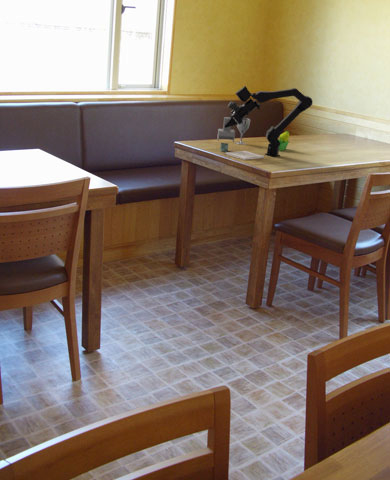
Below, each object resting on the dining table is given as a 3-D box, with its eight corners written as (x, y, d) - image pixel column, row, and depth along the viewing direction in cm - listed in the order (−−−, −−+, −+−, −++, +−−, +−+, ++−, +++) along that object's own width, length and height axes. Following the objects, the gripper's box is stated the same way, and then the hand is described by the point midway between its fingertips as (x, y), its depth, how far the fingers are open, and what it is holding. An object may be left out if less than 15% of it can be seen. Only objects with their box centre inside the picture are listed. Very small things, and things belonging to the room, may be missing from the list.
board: (245, 152, 344) (245, 150, 344) (263, 157, 335) (264, 156, 335) (225, 154, 334) (225, 152, 333) (244, 159, 324) (244, 158, 324)
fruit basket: (276, 147, 372) (279, 128, 368) (290, 149, 368) (293, 131, 364) (269, 149, 362) (272, 130, 358) (283, 152, 358) (286, 132, 354)
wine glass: (235, 141, 375) (238, 117, 370) (248, 143, 374) (251, 118, 369) (233, 143, 368) (236, 118, 363) (246, 145, 367) (249, 120, 362)
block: (227, 150, 346) (228, 143, 344) (227, 151, 342) (228, 144, 340) (220, 149, 345) (221, 142, 344) (220, 151, 342) (221, 144, 340)
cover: (233, 139, 346) (235, 117, 342) (234, 142, 337) (236, 119, 333) (217, 138, 345) (219, 116, 341) (217, 141, 337) (220, 118, 333)
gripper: (236, 95, 342) (215, 113, 346) (238, 98, 325) (215, 117, 328) (248, 110, 345) (227, 128, 348) (251, 115, 327) (228, 133, 331)
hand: (224, 126), depth 339 cm, fingers closed on cover, 4 cm apart
